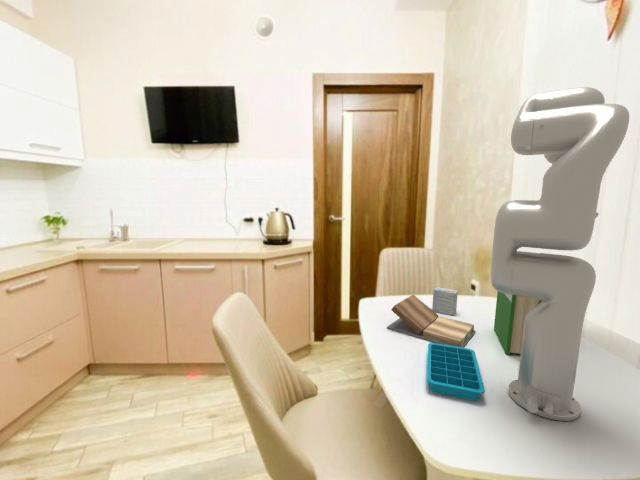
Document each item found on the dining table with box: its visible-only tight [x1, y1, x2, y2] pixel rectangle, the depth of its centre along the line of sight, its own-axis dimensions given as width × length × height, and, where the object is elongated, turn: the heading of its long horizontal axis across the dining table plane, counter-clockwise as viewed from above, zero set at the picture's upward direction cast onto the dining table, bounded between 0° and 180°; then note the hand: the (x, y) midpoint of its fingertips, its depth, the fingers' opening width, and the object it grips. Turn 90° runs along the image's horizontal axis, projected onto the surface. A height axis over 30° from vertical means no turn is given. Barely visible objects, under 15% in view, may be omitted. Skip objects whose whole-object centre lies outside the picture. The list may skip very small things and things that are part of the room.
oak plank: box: [423, 316, 475, 347], centre depth 98 cm, size 15×11×2 cm
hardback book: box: [493, 291, 542, 357], centre depth 92 cm, size 18×7×24 cm, turn 161°
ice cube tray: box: [426, 342, 486, 402], centre depth 77 cm, size 12×20×3 cm, turn 160°
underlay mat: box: [386, 317, 476, 348], centre depth 101 cm, size 16×23×1 cm
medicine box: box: [431, 287, 459, 316], centre depth 117 cm, size 8×4×9 cm, turn 58°
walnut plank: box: [391, 294, 440, 334], centre depth 104 cm, size 15×11×2 cm
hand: (557, 238), depth 98 cm, fingers open, 9 cm apart
